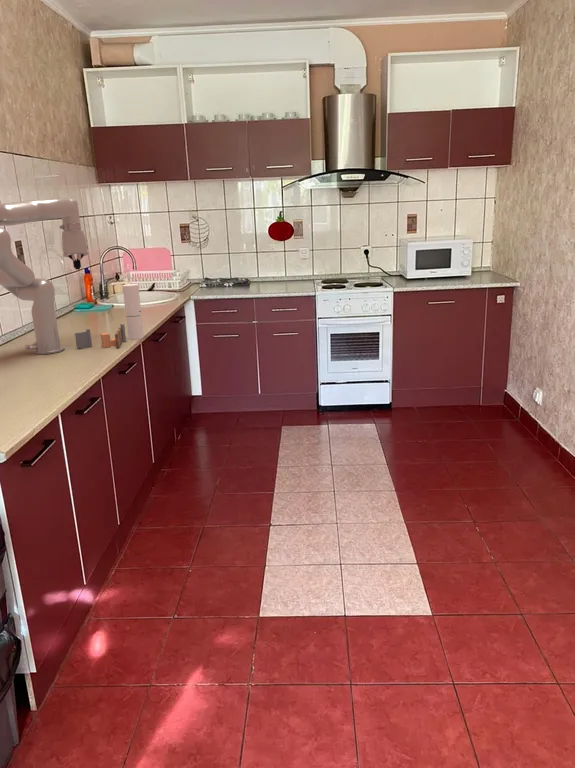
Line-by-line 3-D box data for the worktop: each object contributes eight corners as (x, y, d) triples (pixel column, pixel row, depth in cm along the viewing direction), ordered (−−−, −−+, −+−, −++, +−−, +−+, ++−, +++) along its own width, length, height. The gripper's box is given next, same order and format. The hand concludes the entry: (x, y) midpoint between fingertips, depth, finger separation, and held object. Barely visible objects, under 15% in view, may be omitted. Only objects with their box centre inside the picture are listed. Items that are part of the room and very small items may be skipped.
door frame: (78, 349, 261) (75, 331, 259) (76, 348, 262) (74, 330, 260) (126, 341, 273) (124, 324, 270) (124, 340, 274) (122, 323, 272)
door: (120, 341, 273) (118, 327, 271) (122, 340, 273) (120, 327, 271) (116, 347, 260) (114, 333, 258) (118, 347, 260) (117, 333, 258)
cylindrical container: (146, 336, 282) (141, 283, 275) (139, 339, 276) (133, 286, 268) (133, 335, 284) (127, 283, 277) (125, 339, 278) (119, 285, 270)
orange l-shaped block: (104, 348, 262) (102, 335, 260) (102, 346, 265) (100, 333, 263) (118, 346, 264) (116, 333, 263) (115, 344, 268) (113, 331, 266)
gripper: (55, 228, 257) (62, 271, 263) (90, 227, 264) (96, 268, 270) (53, 228, 264) (59, 269, 269) (87, 226, 271) (92, 267, 276)
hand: (77, 269), depth 269 cm, fingers closed
